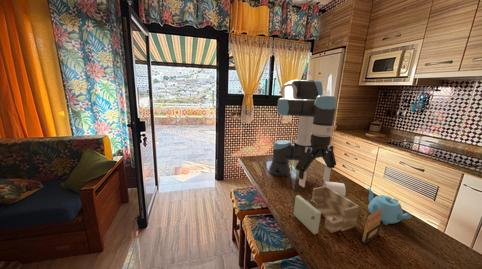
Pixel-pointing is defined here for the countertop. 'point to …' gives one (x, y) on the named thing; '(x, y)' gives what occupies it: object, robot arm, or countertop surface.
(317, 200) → the carcass
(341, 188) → the mug
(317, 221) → the door
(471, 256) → the countertop surface
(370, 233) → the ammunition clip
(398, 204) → the teapot
